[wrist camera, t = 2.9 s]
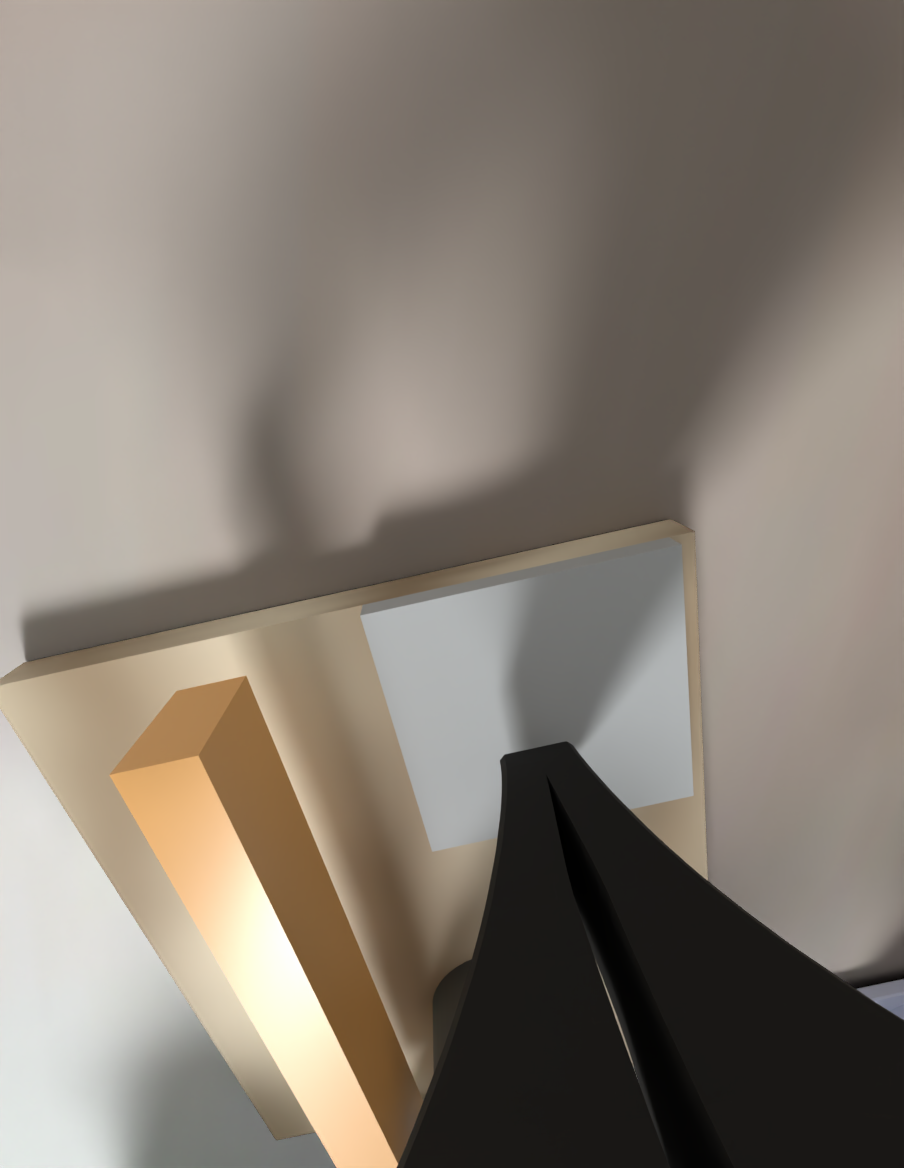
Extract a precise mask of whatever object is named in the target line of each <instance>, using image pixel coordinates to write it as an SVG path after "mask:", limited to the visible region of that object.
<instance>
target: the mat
mask: <svg viewBox="0 0 904 1168" xmlns="http://www.w3.org/2000/svg"><path fill="white" fill-rule="evenodd" d="M360 617H361V621H362V624H363V627H364V630H365V634H366V637H367V640H368V643H369V647H370V650H371V653H372V657H373V660H374V663H375V666H376V670H377V673H378V676H379V679H380V683H381V686H382V689H383V692H384V696H385V699H386V702H387V706H388V709H389V712H390V715H391V719H392V722H393V725H394V728H395V732H396V735H397V738H398V742H399V745H400V748H401V751H402V755H403V758H404V761H405V764H406V768H407V771H408V774H409V777H410V781H411V784H412V787H413V791H414V794H415V797H416V800H417V804H418V807H419V810H420V813H421V817H422V820H423V823H424V826H425V830H426V833H427V836H428V840H429V843H430V846H431V849H432V852H433V851H438V850H443V849H447V848H452V847H457V846H461V845H466V844H471V843H475V842H480V841H485V840H489V839H494V838H497V837H498V829H499V821H500V812H501V796H502V775H501V765H500V760H501V758H502V757H503V756H504V755H505V754H509V753H514V752H518V751H523V750H528V749H532V748H537V747H542V746H546V745H551V744H555V743H560V742H565V741H567V742H569V743H571V744H572V745H573V746H574V747H575V749H576V750H577V751H578V753H579V754H580V755H581V756H582V758H583V759H584V760H585V761H586V762H587V764H588V765H589V766H590V767H591V768H592V770H593V771H594V772H595V773H596V774H597V775H598V777H599V778H600V779H601V780H602V781H603V782H604V783H605V784H606V785H607V786H608V788H609V789H610V790H611V791H612V792H613V793H614V794H615V795H616V796H617V797H618V798H619V799H620V800H621V801H622V802H623V803H624V804H625V805H626V806H627V807H628V808H629V809H634V808H639V807H644V806H648V805H653V804H658V803H662V802H667V801H672V800H676V799H681V798H686V797H690V796H694V793H693V772H692V751H691V730H690V709H689V688H688V667H687V646H686V625H685V604H684V583H683V561H682V544H680V543H678V542H676V541H675V540H673V539H671V538H670V537H667V538H663V539H658V540H654V541H649V542H645V543H640V544H636V545H631V546H627V547H622V548H618V549H613V550H609V551H604V552H600V553H595V554H591V555H586V556H582V557H577V558H573V559H568V560H563V561H559V562H554V563H550V564H545V565H541V566H536V567H532V568H527V569H523V570H518V571H514V572H509V573H505V574H500V575H496V576H491V577H487V578H482V579H478V580H473V581H469V582H464V583H460V584H455V585H451V586H446V587H442V588H437V589H433V590H428V591H424V592H419V593H414V594H410V595H405V596H401V597H396V598H392V599H387V600H383V601H378V602H374V603H369V604H365V605H363V606H362V610H361V614H360Z"/></svg>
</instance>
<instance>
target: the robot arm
mask: <svg viewBox="0 0 904 1168" xmlns="http://www.w3.org/2000/svg"><path fill="white" fill-rule="evenodd" d="M500 765H501V775H502V796H501V812H500V821H499V829H498V837H497V845H496V852H495V858H494V864H493V869H492V874H491V879H490V885H489V890H488V895H487V900H486V905H485V909H484V913H483V918H482V922H481V926H480V930H479V934H478V938H477V941H476V945H475V949H474V953H473V956H472V960H471V964H470V967H469V970H468V974H467V977H466V980H465V983H464V987H463V990H462V993H461V996H460V999H459V1003H458V1006H457V1009H456V1012H455V1016H454V1019H453V1021H452V1024H451V1027H450V1030H449V1033H448V1036H447V1039H446V1042H445V1045H444V1048H443V1051H442V1053H441V1056H440V1058H439V1061H438V1064H437V1066H436V1069H435V1072H434V1074H433V1077H432V1080H431V1082H430V1085H429V1087H428V1090H427V1093H426V1095H425V1098H424V1101H423V1103H422V1106H421V1109H420V1111H419V1114H418V1116H417V1119H416V1122H415V1124H414V1127H413V1130H412V1132H411V1134H410V1137H409V1139H408V1142H407V1144H406V1147H405V1149H404V1152H403V1154H402V1156H401V1159H400V1161H399V1163H398V1165H397V1168H904V979H900V980H896V981H891V982H886V983H881V984H876V985H872V986H867V987H862V988H857V989H855V988H854V987H852V986H851V985H849V984H848V983H846V982H845V981H843V980H842V979H840V978H839V977H838V976H836V975H835V974H833V973H832V972H830V971H829V970H827V969H826V968H824V967H823V966H821V965H820V964H818V963H817V962H816V961H814V960H813V959H811V958H810V957H808V956H807V955H805V954H804V953H802V952H801V951H799V950H798V949H796V948H795V947H793V946H792V945H791V944H789V943H788V942H786V941H785V940H784V939H782V938H781V937H780V936H778V935H777V934H776V933H774V932H773V931H772V930H770V929H769V928H768V927H766V926H765V925H763V924H762V923H761V922H759V921H758V920H757V919H755V918H754V917H753V916H751V915H750V914H749V913H747V912H746V911H745V910H744V909H742V908H741V907H740V906H738V905H737V904H736V903H735V902H733V901H732V900H731V899H730V898H728V897H727V896H726V895H725V894H723V893H722V892H721V891H719V890H718V889H717V888H716V887H715V886H713V885H712V884H711V883H710V882H709V881H707V880H706V879H705V878H704V877H702V876H701V875H700V874H699V873H698V872H697V871H695V870H694V869H693V868H692V867H691V866H690V865H688V864H687V863H686V862H685V861H684V860H683V859H682V858H681V857H679V856H678V855H677V854H676V853H675V852H674V851H673V850H672V849H670V848H669V847H668V846H667V845H666V844H665V843H664V842H663V841H662V840H661V839H659V838H658V837H657V836H656V835H655V834H654V833H653V832H652V831H651V830H650V829H649V828H648V827H647V826H646V825H645V824H644V823H643V822H642V821H641V820H640V819H639V818H638V817H637V816H636V815H635V814H634V813H633V812H632V811H631V810H630V809H629V808H628V807H627V806H626V805H625V804H624V803H623V802H622V801H621V800H620V799H619V798H618V797H617V796H616V795H615V794H614V793H613V792H612V791H611V790H610V789H609V788H608V786H607V785H606V784H605V783H604V782H603V781H602V780H601V779H600V778H599V777H598V775H597V774H596V773H595V772H594V771H593V770H592V768H591V767H590V766H589V765H588V764H587V762H586V761H585V760H584V759H583V758H582V756H581V755H580V754H579V753H578V751H577V750H576V749H575V747H574V746H573V745H572V744H571V743H569V742H567V741H565V742H560V743H555V744H551V745H546V746H542V747H537V748H532V749H528V750H523V751H518V752H514V753H509V754H505V755H504V756H503V757H502V758H501V760H500ZM597 965H598V966H597ZM598 968H599V969H598ZM599 970H600V972H599ZM600 973H601V975H600ZM601 976H602V977H601ZM602 978H603V980H602ZM603 981H604V983H605V986H606V989H607V991H608V994H609V996H610V999H611V1002H612V1004H613V1007H614V1009H615V1012H616V1015H617V1017H618V1020H619V1023H620V1026H621V1029H622V1032H623V1034H624V1037H625V1040H626V1043H627V1046H628V1049H629V1052H630V1055H631V1058H632V1062H633V1065H634V1068H635V1071H634V1068H633V1065H632V1063H631V1060H630V1057H629V1054H628V1051H627V1049H626V1046H625V1043H624V1040H623V1037H622V1035H621V1032H620V1029H619V1026H618V1024H617V1021H616V1018H615V1015H614V1012H613V1009H612V1006H611V1003H610V1001H609V998H608V995H607V992H606V989H605V986H604V983H603ZM635 1072H636V1074H635ZM636 1075H637V1077H636ZM637 1078H638V1079H637ZM638 1081H639V1082H638Z"/></svg>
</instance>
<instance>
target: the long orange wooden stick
mask: <svg viewBox="0 0 904 1168" xmlns="http://www.w3.org/2000/svg"><path fill="white" fill-rule="evenodd" d="M109 776H110V777H111V779H112V781H113V782H114V784H115V786H116V788H117V789H118V791H119V793H120V795H121V796H122V798H123V800H124V801H125V803H126V805H127V807H128V808H129V810H130V812H131V814H132V815H133V817H134V819H135V820H136V822H137V824H138V826H139V827H140V829H141V831H142V833H143V834H144V836H145V838H146V839H147V841H148V843H149V845H150V846H151V848H152V850H153V852H154V853H155V855H156V857H157V859H158V860H159V862H160V864H161V865H162V867H163V869H164V871H165V872H166V874H167V876H168V878H169V879H170V881H171V883H172V884H173V886H174V888H175V890H176V891H177V893H178V895H179V897H180V898H181V900H182V902H183V903H184V905H185V907H186V909H187V910H188V912H189V914H190V916H191V917H192V919H193V921H194V922H195V924H196V926H197V928H198V929H199V931H200V933H201V935H202V936H203V938H204V940H205V941H206V943H207V945H208V947H209V948H210V950H211V952H212V954H213V955H214V957H215V959H216V960H217V962H218V964H219V966H220V967H221V969H222V971H223V973H224V974H225V976H226V978H227V979H228V981H229V983H230V985H231V986H232V988H233V990H234V992H235V993H236V995H237V997H238V998H239V1000H240V1002H241V1004H242V1005H243V1007H244V1009H245V1011H246V1012H247V1014H248V1016H249V1017H250V1019H251V1021H252V1023H253V1024H254V1026H255V1028H256V1030H257V1031H258V1033H259V1035H260V1037H261V1038H262V1040H263V1042H264V1043H265V1045H266V1047H267V1049H268V1050H269V1052H270V1054H271V1056H272V1057H273V1059H274V1061H275V1062H276V1064H277V1066H278V1068H279V1069H280V1071H281V1073H282V1075H283V1076H284V1078H285V1080H286V1081H287V1083H288V1085H289V1087H290V1088H291V1090H292V1092H293V1094H294V1095H295V1097H296V1099H297V1100H298V1102H299V1104H300V1106H301V1107H302V1109H303V1111H304V1113H305V1114H306V1116H307V1118H308V1119H309V1121H310V1123H311V1125H312V1126H313V1128H314V1130H315V1132H316V1133H317V1135H318V1137H319V1138H320V1140H321V1142H322V1144H323V1145H324V1147H325V1149H326V1151H327V1152H328V1154H329V1156H330V1157H331V1159H332V1161H333V1163H334V1164H335V1166H336V1168H397V1165H398V1163H399V1161H400V1159H401V1156H402V1154H403V1152H404V1149H405V1147H406V1144H407V1142H408V1139H409V1137H410V1134H411V1132H412V1130H413V1127H414V1124H415V1122H416V1119H417V1116H418V1114H419V1111H420V1109H421V1106H422V1103H423V1099H422V1097H421V1094H420V1092H419V1089H418V1087H417V1085H416V1082H415V1080H414V1077H413V1075H412V1073H411V1070H410V1068H409V1065H408V1063H407V1061H406V1058H405V1056H404V1053H403V1051H402V1049H401V1046H400V1044H399V1041H398V1039H397V1037H396V1034H395V1032H394V1029H393V1027H392V1025H391V1022H390V1020H389V1017H388V1015H387V1013H386V1010H385V1008H384V1005H383V1003H382V1001H381V998H380V996H379V993H378V991H377V989H376V986H375V984H374V981H373V979H372V977H371V974H370V972H369V969H368V967H367V965H366V962H365V960H364V957H363V955H362V953H361V950H360V948H359V945H358V943H357V941H356V938H355V936H354V933H353V931H352V929H351V926H350V924H349V921H348V919H347V917H346V914H345V912H344V909H343V907H342V905H341V902H340V900H339V897H338V895H337V892H336V890H335V888H334V885H333V883H332V880H331V878H330V876H329V873H328V871H327V868H326V866H325V864H324V861H323V859H322V856H321V854H320V852H319V849H318V847H317V844H316V842H315V840H314V837H313V835H312V832H311V830H310V828H309V825H308V823H307V820H306V818H305V816H304V813H303V811H302V808H301V806H300V804H299V801H298V799H297V796H296V794H295V792H294V789H293V787H292V784H291V782H290V780H289V777H288V775H287V772H286V770H285V768H284V765H283V763H282V760H281V758H280V756H279V753H278V751H277V748H276V746H275V744H274V741H273V739H272V736H271V734H270V732H269V729H268V727H267V724H266V722H265V720H264V717H263V715H262V712H261V710H260V708H259V705H258V703H257V700H256V698H255V695H254V693H253V691H252V688H251V686H250V683H249V681H248V679H247V676H242V677H237V678H233V679H228V680H224V681H219V682H214V683H210V684H205V685H201V686H196V687H192V688H187V689H183V690H178V691H176V692H175V693H174V695H173V696H172V697H171V698H170V700H169V701H168V702H167V703H166V705H165V706H164V707H163V708H162V710H161V711H160V712H159V713H158V715H157V716H156V717H155V718H154V720H153V721H152V722H151V723H150V725H149V726H148V727H147V728H146V730H145V731H144V732H143V733H142V735H141V736H140V737H139V738H138V740H137V741H136V742H135V743H134V745H133V746H132V747H131V748H130V750H129V751H128V752H127V753H126V755H125V756H124V757H123V758H122V760H121V761H120V762H119V763H118V765H117V766H116V767H115V768H114V770H113V771H112V772H111V773H110V775H109Z"/></svg>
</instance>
